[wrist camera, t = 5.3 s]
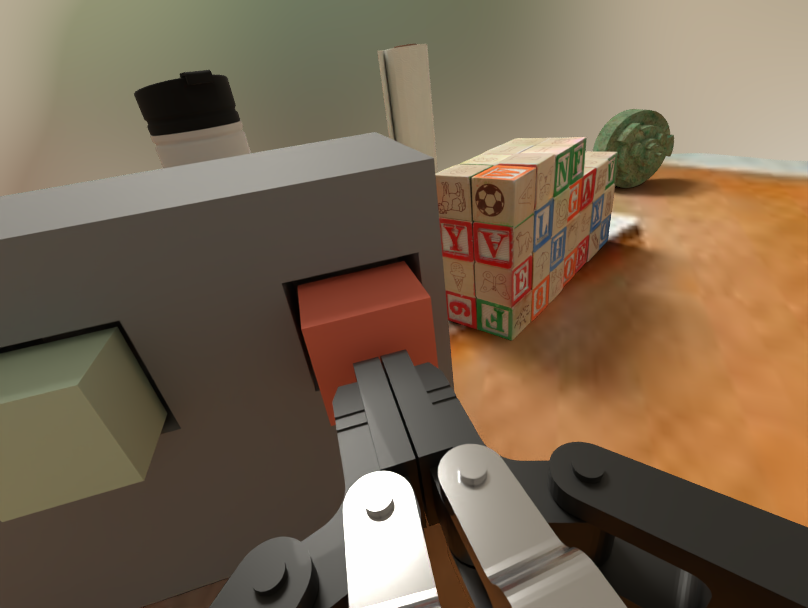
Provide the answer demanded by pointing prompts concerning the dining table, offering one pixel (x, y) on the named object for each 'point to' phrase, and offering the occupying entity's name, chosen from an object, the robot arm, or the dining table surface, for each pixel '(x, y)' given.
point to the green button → (73, 422)
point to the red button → (364, 323)
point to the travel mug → (192, 119)
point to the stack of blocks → (520, 228)
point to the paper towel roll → (408, 97)
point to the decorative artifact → (636, 144)
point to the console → (205, 350)
